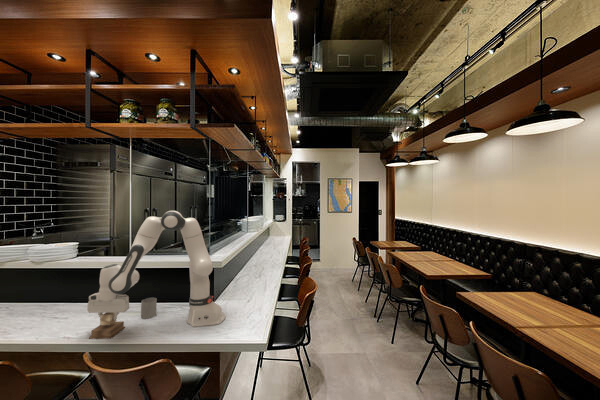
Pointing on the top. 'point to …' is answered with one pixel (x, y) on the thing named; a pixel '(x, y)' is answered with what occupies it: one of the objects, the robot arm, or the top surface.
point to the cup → (148, 308)
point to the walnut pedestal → (107, 331)
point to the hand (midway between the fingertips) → (108, 319)
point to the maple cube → (107, 318)
